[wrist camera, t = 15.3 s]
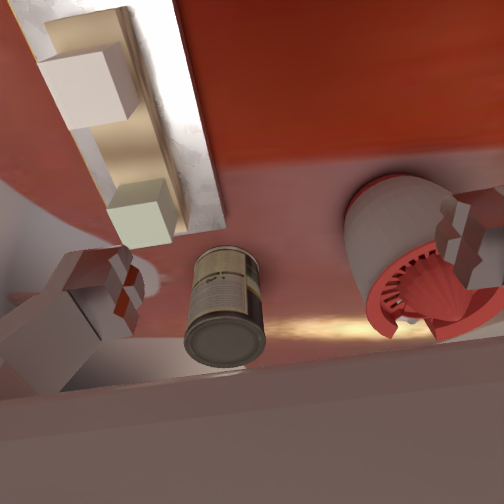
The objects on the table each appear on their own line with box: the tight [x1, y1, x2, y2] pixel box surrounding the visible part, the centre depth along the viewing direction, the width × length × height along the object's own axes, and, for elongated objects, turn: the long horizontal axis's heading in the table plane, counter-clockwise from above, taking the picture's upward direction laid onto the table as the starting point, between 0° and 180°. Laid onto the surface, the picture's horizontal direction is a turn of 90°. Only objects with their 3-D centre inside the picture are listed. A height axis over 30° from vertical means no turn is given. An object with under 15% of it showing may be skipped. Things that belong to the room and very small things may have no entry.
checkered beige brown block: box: [44, 6, 190, 233], centre depth 36 cm, size 22×6×4 cm, turn 9°
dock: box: [7, 0, 227, 236], centre depth 39 cm, size 28×14×3 cm, turn 9°
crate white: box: [37, 41, 140, 130], centre depth 29 cm, size 5×5×5 cm
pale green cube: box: [106, 178, 178, 249], centre depth 37 cm, size 5×5×5 cm
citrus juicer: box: [344, 174, 504, 341], centre depth 42 cm, size 16×17×20 cm
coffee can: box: [184, 246, 266, 368], centre depth 49 cm, size 10×10×14 cm
